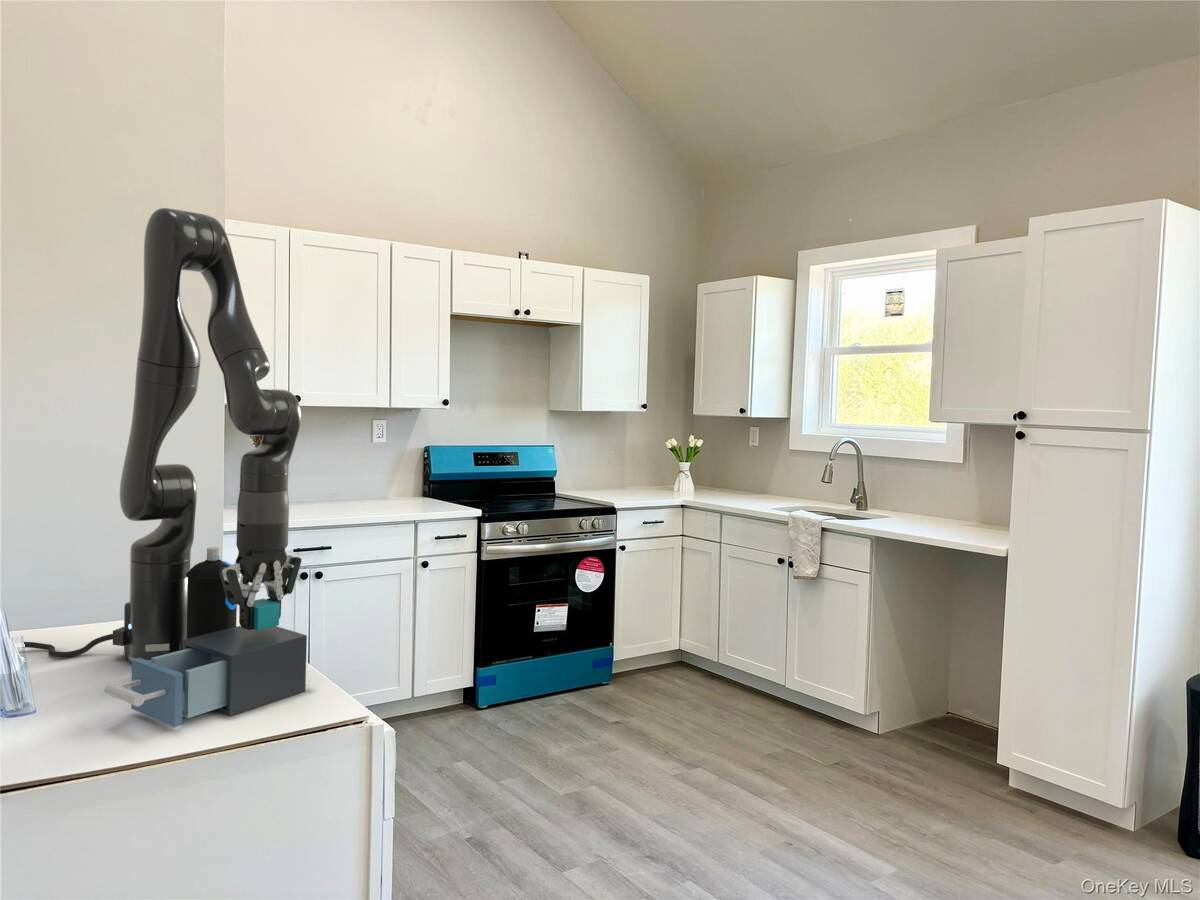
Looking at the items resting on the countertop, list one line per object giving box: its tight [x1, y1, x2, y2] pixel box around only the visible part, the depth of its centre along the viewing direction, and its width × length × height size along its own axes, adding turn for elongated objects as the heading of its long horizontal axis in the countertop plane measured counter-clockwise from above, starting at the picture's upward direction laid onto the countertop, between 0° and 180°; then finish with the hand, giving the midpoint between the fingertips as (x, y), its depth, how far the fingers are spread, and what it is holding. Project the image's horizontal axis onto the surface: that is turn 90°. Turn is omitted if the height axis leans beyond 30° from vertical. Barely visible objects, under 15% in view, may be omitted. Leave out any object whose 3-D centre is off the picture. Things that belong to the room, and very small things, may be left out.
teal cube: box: [253, 598, 280, 631], centre depth 140 cm, size 4×4×4 cm
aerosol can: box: [186, 546, 238, 639], centre depth 150 cm, size 8×8×20 cm
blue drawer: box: [104, 648, 228, 728], centre depth 129 cm, size 17×10×7 cm, turn 148°
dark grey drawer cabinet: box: [183, 625, 308, 717], centre depth 138 cm, size 14×12×9 cm
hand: (260, 624), depth 140 cm, fingers closed on teal cube, 4 cm apart
